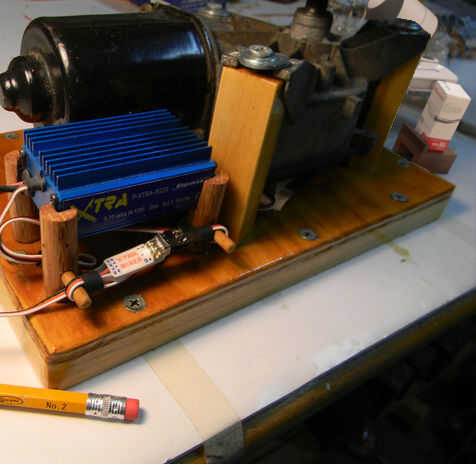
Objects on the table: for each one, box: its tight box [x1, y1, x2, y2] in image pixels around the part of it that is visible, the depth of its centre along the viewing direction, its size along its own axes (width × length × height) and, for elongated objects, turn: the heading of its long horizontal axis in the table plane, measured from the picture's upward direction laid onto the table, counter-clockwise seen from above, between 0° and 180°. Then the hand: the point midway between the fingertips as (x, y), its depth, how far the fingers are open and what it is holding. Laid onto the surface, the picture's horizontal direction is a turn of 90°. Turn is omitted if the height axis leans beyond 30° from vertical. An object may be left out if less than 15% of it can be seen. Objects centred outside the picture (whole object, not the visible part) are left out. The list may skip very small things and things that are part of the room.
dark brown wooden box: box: [392, 122, 458, 175], centre depth 102 cm, size 8×10×6 cm
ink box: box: [414, 81, 472, 152], centre depth 98 cm, size 9×5×12 cm, turn 168°
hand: (426, 92), depth 103 cm, fingers open, 8 cm apart
